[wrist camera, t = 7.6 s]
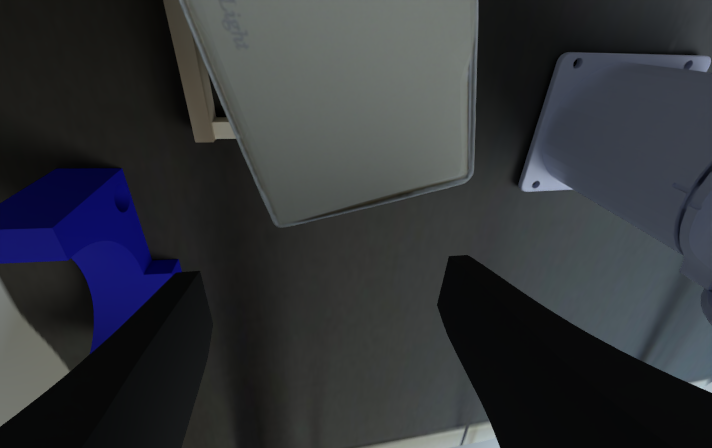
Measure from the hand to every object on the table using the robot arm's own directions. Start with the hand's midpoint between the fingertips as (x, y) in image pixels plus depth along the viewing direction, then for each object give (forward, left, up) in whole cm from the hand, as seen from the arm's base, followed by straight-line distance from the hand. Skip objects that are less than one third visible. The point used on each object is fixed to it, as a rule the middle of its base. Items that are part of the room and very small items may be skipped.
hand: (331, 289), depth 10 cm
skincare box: (0, -7, -11) cm, 12 cm away
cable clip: (+11, +6, -11) cm, 16 cm away
